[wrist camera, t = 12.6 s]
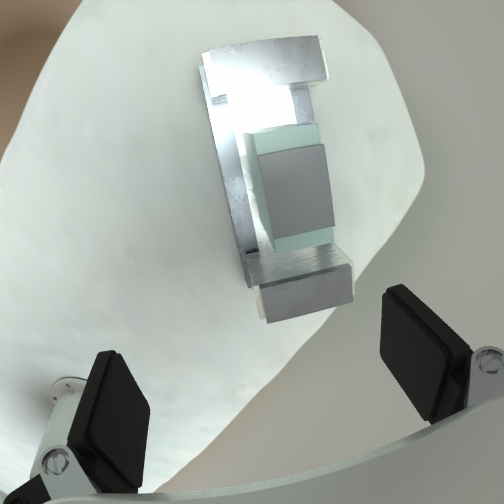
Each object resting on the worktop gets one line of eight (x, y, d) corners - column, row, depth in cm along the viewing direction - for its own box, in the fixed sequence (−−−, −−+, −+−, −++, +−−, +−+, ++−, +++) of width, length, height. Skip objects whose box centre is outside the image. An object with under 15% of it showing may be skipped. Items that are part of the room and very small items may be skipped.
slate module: (288, 123, 29) (320, 122, 20) (303, 211, 32) (336, 244, 23) (241, 132, 28) (253, 134, 20) (259, 220, 32) (277, 258, 23)
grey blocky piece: (330, 263, 37) (363, 305, 28) (247, 283, 36) (257, 332, 28) (297, 52, 27) (328, 26, 19) (199, 67, 27) (193, 43, 18)
